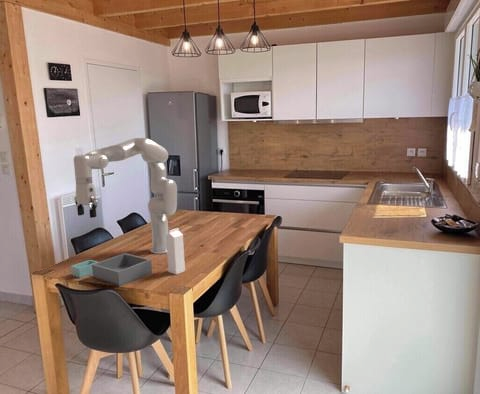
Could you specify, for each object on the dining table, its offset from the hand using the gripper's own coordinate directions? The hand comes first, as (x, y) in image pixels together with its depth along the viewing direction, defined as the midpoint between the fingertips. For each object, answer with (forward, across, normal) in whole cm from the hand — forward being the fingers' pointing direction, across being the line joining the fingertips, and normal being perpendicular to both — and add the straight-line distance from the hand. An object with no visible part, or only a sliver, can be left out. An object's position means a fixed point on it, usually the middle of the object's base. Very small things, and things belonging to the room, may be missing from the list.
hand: (87, 216), depth 203 cm
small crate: (+30, +5, 0) cm, 31 cm away
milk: (+30, -33, -26) cm, 51 cm away
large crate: (+30, -14, -8) cm, 34 cm away
